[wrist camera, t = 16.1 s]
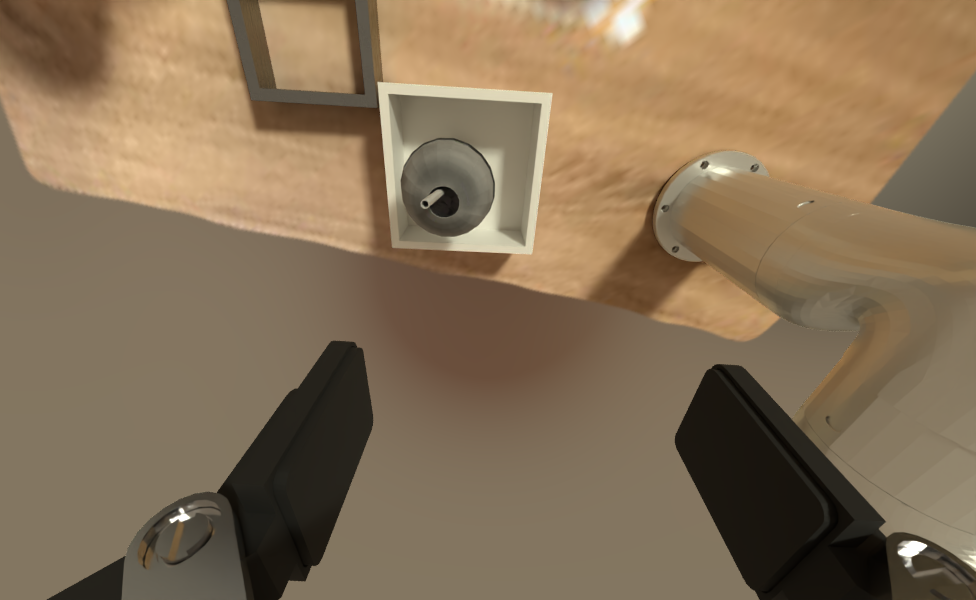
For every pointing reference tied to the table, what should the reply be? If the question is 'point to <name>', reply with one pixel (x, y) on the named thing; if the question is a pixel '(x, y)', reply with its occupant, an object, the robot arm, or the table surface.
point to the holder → (264, 89)
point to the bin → (489, 129)
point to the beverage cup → (447, 187)
